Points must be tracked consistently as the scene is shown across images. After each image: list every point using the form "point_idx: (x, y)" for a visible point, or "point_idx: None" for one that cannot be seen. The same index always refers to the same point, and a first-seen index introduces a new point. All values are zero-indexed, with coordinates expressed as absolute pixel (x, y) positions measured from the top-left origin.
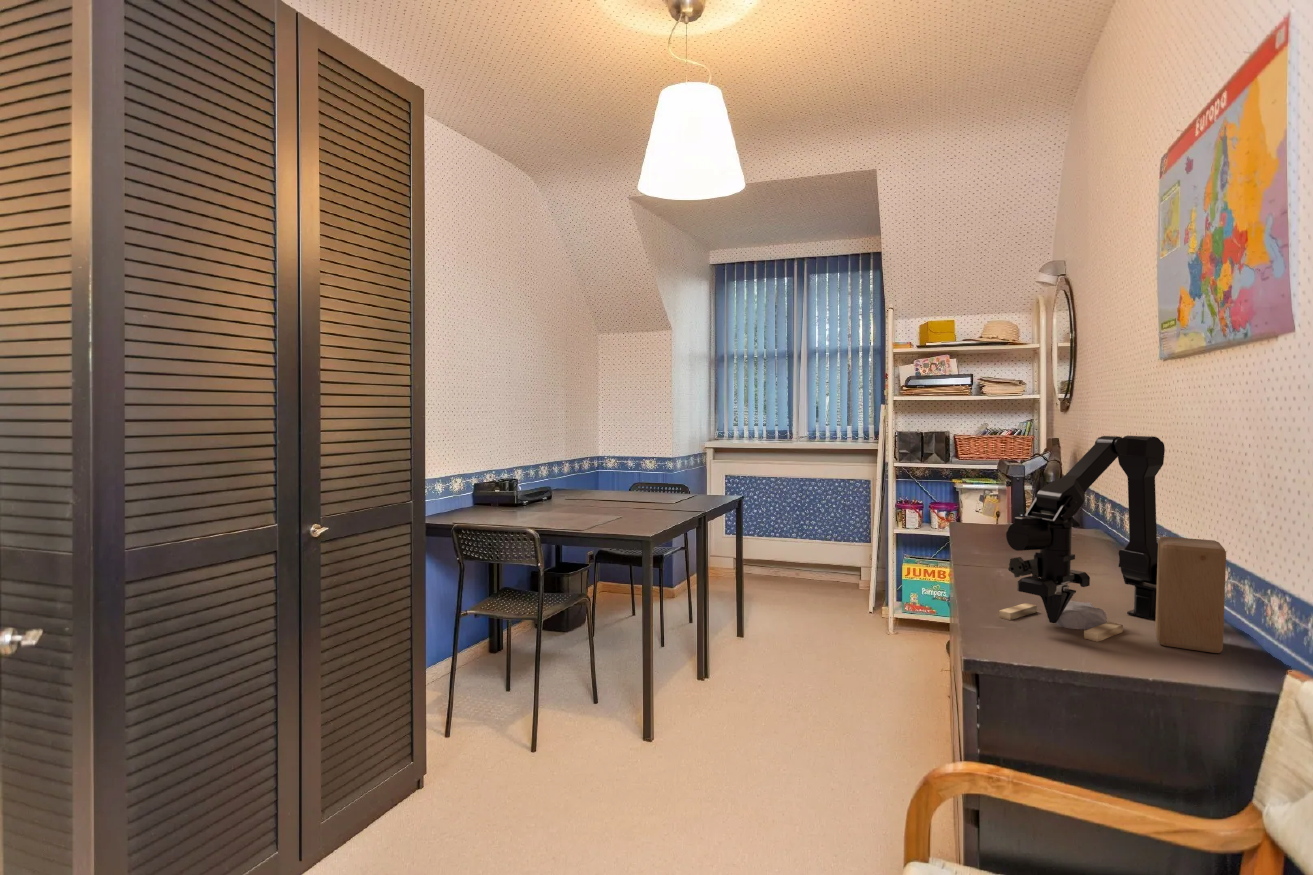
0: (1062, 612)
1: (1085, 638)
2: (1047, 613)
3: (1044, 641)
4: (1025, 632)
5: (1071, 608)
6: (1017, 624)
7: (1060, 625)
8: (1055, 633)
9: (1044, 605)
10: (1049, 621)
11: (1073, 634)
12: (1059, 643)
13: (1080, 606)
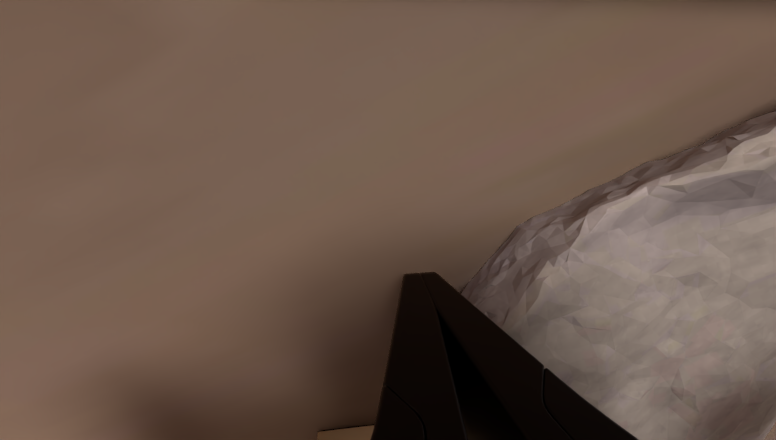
0: (542, 363)
1: (318, 436)
2: (393, 331)
3: (8, 398)
4: (21, 248)
5: (679, 374)
6: (171, 59)
7: (465, 289)
8: (258, 346)
9: (378, 407)
10: (404, 277)
11: (343, 387)
12: (87, 436)
13: (772, 383)
